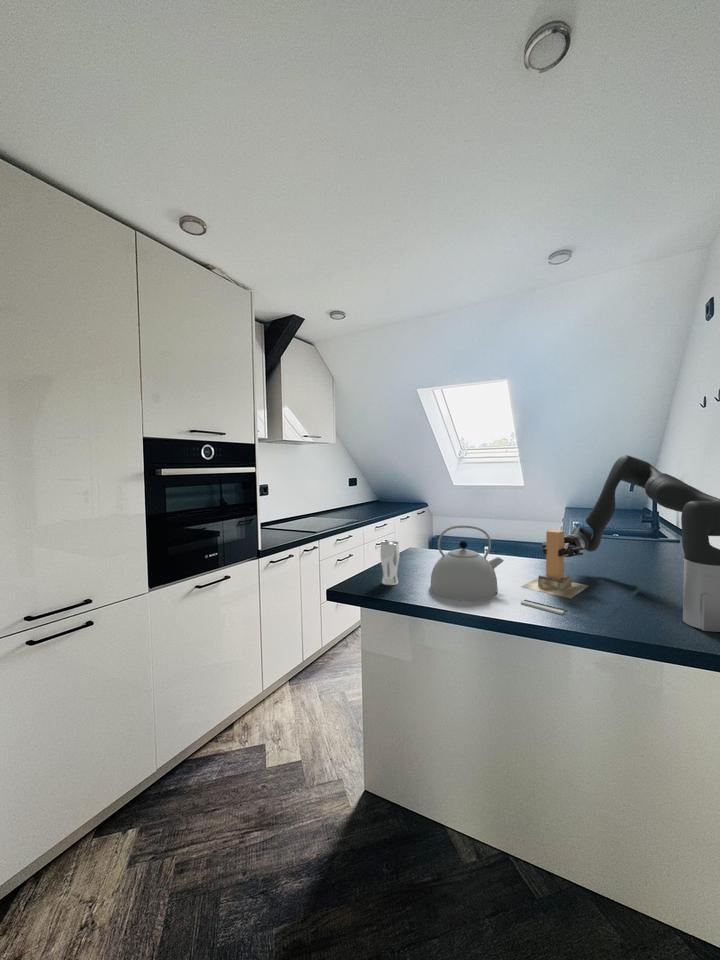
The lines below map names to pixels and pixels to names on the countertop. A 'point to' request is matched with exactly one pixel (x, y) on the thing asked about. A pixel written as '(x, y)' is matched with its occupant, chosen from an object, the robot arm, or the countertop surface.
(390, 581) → the beer glass
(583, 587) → the wooden socket base
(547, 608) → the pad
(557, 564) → the tan rectangular block
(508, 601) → the countertop surface
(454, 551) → the kettle
